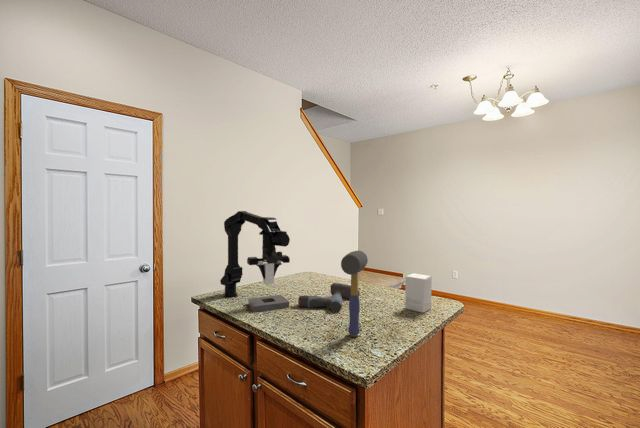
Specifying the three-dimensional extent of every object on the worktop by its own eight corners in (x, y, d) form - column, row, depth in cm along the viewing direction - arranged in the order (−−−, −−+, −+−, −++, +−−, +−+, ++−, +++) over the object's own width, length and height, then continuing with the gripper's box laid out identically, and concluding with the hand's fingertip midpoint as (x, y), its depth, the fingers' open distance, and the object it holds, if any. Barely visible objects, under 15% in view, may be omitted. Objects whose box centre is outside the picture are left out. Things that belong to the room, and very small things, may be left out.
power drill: (303, 298, 147) (343, 300, 145) (296, 311, 129) (341, 313, 126) (303, 287, 147) (343, 289, 145) (296, 299, 128) (342, 301, 126)
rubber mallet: (348, 327, 111) (349, 248, 110) (368, 330, 108) (369, 250, 107) (338, 340, 99) (339, 253, 99) (359, 344, 96) (360, 254, 96)
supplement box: (431, 308, 133) (432, 275, 133) (423, 313, 126) (424, 279, 126) (413, 303, 139) (413, 272, 139) (404, 308, 132) (404, 275, 132)
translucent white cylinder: (263, 282, 135) (263, 262, 135) (271, 281, 137) (271, 262, 137) (265, 284, 131) (265, 264, 131) (273, 283, 133) (274, 263, 133)
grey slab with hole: (248, 303, 136) (248, 298, 136) (281, 299, 143) (281, 294, 143) (253, 312, 125) (253, 306, 125) (289, 307, 132) (289, 301, 132)
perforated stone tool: (360, 298, 147) (361, 284, 147) (358, 301, 142) (358, 287, 142) (333, 294, 153) (333, 281, 153) (329, 297, 148) (329, 283, 148)
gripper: (251, 247, 123) (251, 284, 123) (293, 246, 130) (293, 280, 131) (247, 244, 133) (246, 278, 133) (286, 243, 140) (285, 275, 141)
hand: (268, 278), depth 134 cm, fingers closed on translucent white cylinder, 4 cm apart
